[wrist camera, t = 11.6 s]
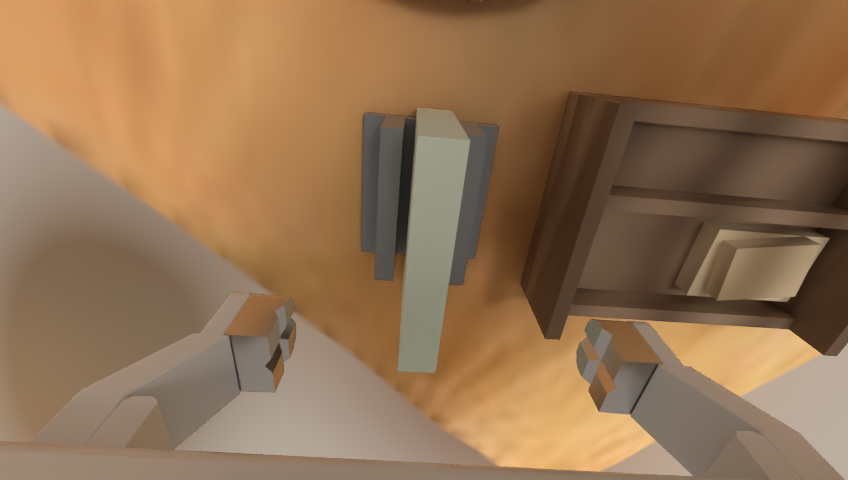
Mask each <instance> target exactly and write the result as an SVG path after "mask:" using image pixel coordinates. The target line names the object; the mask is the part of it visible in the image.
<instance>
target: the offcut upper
mask: <svg viewBox="0 0 848 480" xmlns="http://www.w3.org/2000/svg"><path fill="white" fill-rule="evenodd" d="M820 247H821V244H819V243H817V242H815V241H813V240H811V239H809V238H807V237H805V236H799V237H779V238H758V239H738V240H723V242H722V245H721V248H720V250H719V253H718V256H717V258H716V261H715V264H714V267H713V269H712V272H711V275H710V277H709V280H708V283H707V286H706V288H705V291H706V292H707V293H708V294H709V295H711V296H712V297H713V298H714V299H715V300H717V301H719V300H740V299H760V298H780V297H795V296H796V294H797V292H798V290H799V288H800V286H801V284H802V282H803V280H804V278H805V276H806V274H807V272H808V270H809V268H810V266H811V265H812V263H813V261H814V259H815V257H816V255H817V253H818V251H819V249H820Z"/></svg>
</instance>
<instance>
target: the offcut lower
mask: <svg viewBox="0 0 848 480" xmlns="http://www.w3.org/2000/svg"><path fill="white" fill-rule="evenodd" d="M799 236H805V237H807V238H809V239H811V240H813V241H815V242H817V243H819V244H821V247H820V249H819V251H818V253H817V255H816V257H815V259H814V261H815V260H816V258H817V257H818V255H819V254H820V252H821V251H822V249H823V248H824V246H825V245H826V243H827V242H828V241H829V239H830V238H828V237H826V236H824V235H822V234H819V233H817V232H815V231H813V230H811V229H803V228H791V227H779V226H766V225H754V224H742V223H730V222H718V221H704V223H703V225H702V227H701V230H700V232H699V234H698V236H697V238H696V240H695V242H694V244H693V246H692V248H691V250H690V252H689V254H688V256H687V258H686V260H685V263H684V265H683V267H682V269H681V271H680V273H679V275H678V277H677V279H676V281H675V283H674V284H675V285H676V286H677V287H678V288H679V289H681V290H682V291H683V292H684V293H685V294H686V295H694V296H708V297H712V296H711V295H709V294H708V293H707V292H706V291H705V288H706V286H707V283H708V280H709V277H710V275H711V272H712V269H713V267H714V264H715V261H716V258H717V256H718V253H719V250H720V248H721V245H722V242H723V240H738V239H758V238H779V237H799ZM814 261H813V263H814ZM813 263H812V264H813ZM811 266H812V265H811ZM811 266H810V267H811ZM809 269H810V268H809ZM789 299H790V297H780V298H760V299H752V300H766V301H781V302H788V300H789Z"/></svg>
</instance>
